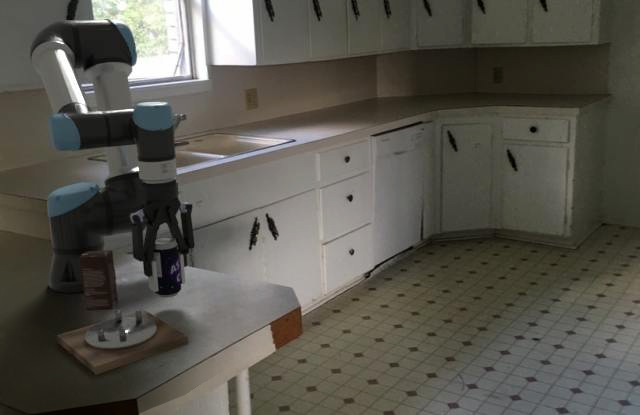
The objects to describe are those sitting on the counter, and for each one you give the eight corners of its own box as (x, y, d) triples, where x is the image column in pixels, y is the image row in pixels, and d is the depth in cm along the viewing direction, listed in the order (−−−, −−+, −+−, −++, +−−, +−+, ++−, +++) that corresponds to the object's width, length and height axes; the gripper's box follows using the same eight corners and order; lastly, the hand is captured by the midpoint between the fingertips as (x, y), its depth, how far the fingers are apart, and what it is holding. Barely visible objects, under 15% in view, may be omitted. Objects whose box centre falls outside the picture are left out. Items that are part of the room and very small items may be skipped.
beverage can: (175, 299, 142) (170, 245, 139) (150, 298, 143) (145, 243, 140) (185, 289, 147) (181, 236, 144) (161, 287, 148) (156, 235, 145)
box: (118, 301, 150) (113, 249, 147) (112, 309, 146) (106, 255, 143) (91, 302, 150) (85, 250, 147) (84, 310, 146) (78, 256, 143)
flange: (74, 335, 129) (72, 320, 129) (138, 316, 138) (136, 302, 137) (102, 357, 120) (101, 341, 119) (169, 335, 128) (167, 320, 127)
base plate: (57, 342, 130) (56, 335, 130) (144, 316, 141) (143, 309, 141) (95, 374, 117) (94, 366, 116) (188, 343, 128) (187, 335, 128)
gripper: (123, 190, 130) (134, 302, 136) (207, 175, 141) (214, 279, 148) (107, 183, 135) (118, 292, 141) (189, 169, 147) (196, 270, 153)
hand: (167, 285), depth 144 cm, fingers closed on beverage can, 6 cm apart
